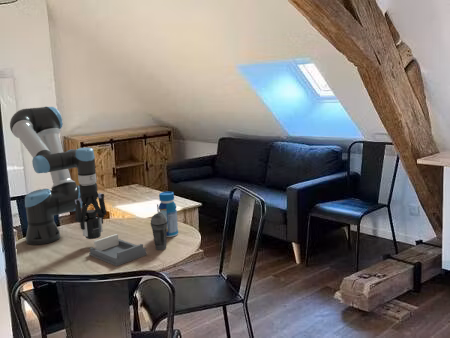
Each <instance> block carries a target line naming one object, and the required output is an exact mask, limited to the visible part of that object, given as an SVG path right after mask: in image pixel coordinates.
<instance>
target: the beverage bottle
mask: <svg viewBox="0 0 450 338" xmlns="http://www.w3.org/2000/svg"><path fill="white" fill-rule="evenodd" d="M158 197H159V202H160V203H159V204H158V208H159V213H161V214H163V215H164V216H165V217H166V219H167V238H171V237H176V236H177V235H179V227H178V224H179V223H178V211H177V205H176V203H175V201H174V200H175V194H174V191H163V192H162V191H161V192H159V196H158Z"/></svg>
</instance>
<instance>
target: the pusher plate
mask: <svg viewBox="0 0 450 338" xmlns="http://www.w3.org/2000/svg"><path fill="white" fill-rule="evenodd" d="M119 239H120V238H119V234H118V233H115V234H112V235H109V236H105V237H103V238H98V239H96V240H93V248H95V249H97V250H100V251H102V250H105V249H108V248H111V247H114V246H117V245H119Z"/></svg>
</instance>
